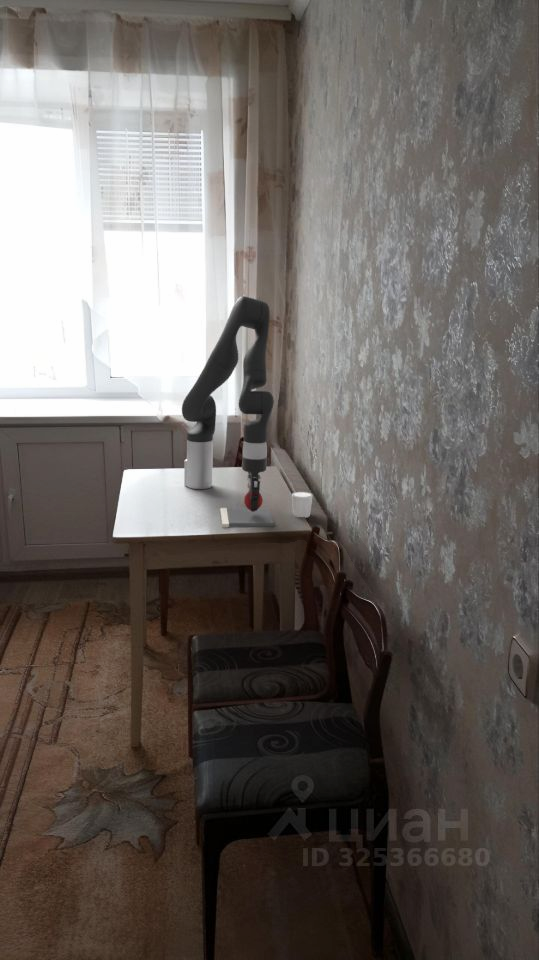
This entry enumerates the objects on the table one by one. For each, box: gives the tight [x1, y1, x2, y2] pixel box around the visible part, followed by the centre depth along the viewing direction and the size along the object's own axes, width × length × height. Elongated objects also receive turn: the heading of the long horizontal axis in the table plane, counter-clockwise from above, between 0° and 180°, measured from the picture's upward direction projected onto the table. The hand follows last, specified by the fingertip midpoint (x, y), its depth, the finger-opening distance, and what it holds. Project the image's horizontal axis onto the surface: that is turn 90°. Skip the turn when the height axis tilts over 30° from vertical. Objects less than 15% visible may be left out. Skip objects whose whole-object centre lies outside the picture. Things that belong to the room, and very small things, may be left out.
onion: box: [243, 491, 264, 512], centre depth 235 cm, size 6×6×8 cm
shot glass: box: [291, 491, 314, 519], centre depth 242 cm, size 7×7×7 cm
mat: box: [219, 507, 275, 528], centre depth 237 cm, size 16×16×1 cm
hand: (253, 506), depth 236 cm, fingers closed on onion, 6 cm apart
